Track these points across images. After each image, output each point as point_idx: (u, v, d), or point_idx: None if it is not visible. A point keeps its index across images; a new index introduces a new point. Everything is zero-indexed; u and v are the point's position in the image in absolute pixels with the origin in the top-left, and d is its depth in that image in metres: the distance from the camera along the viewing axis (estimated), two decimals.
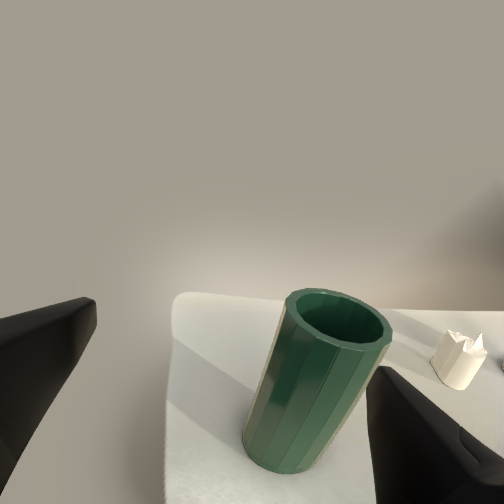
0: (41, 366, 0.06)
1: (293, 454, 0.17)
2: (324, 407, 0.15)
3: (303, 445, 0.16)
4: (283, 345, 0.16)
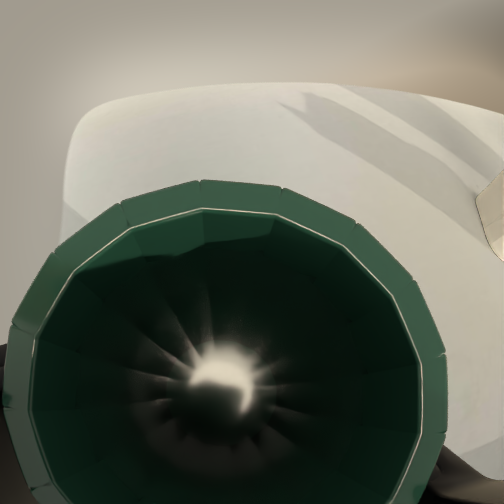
0: None
1: None
2: None
3: None
4: None
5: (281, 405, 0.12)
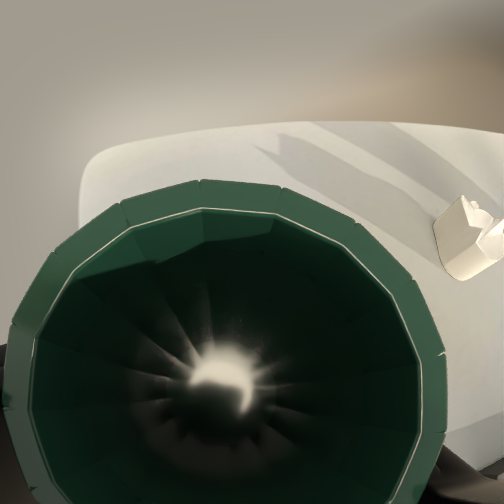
0: None
1: None
2: None
3: None
4: None
5: (281, 405, 0.12)
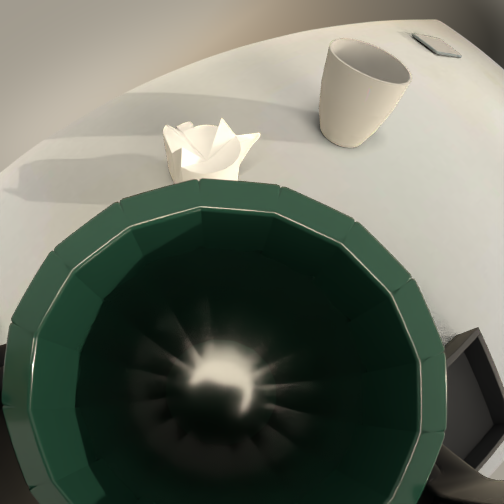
0: None
1: None
2: None
3: None
4: None
5: (281, 404, 0.12)
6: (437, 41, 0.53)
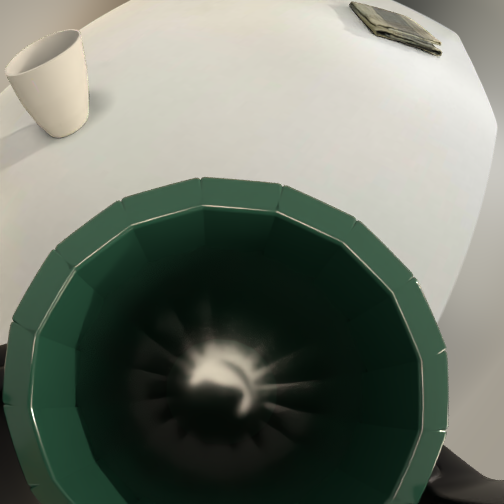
0: None
1: None
2: None
3: None
4: None
5: (281, 404, 0.12)
6: None
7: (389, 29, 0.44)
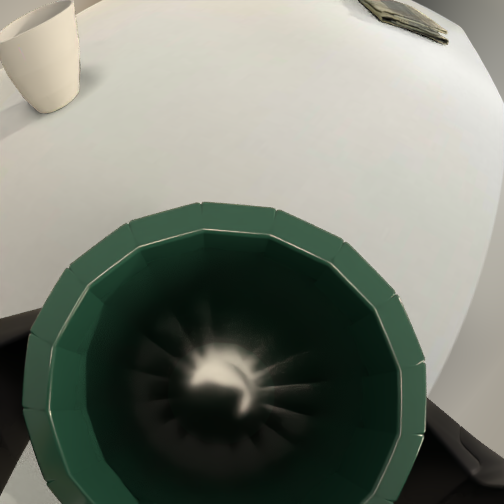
0: None
1: None
2: None
3: None
4: None
5: (279, 405, 0.13)
6: None
7: (395, 16, 0.41)
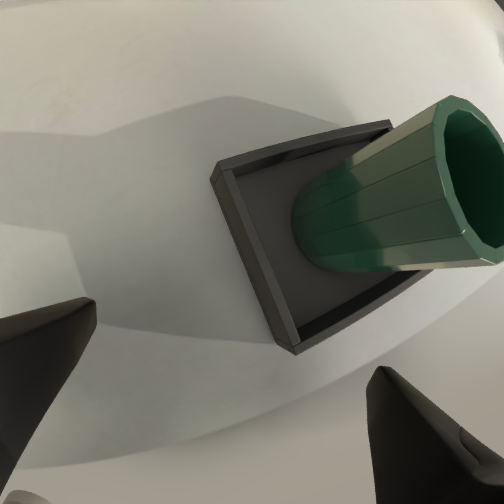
0: (41, 366, 0.06)
1: (333, 261, 0.17)
2: (394, 257, 0.12)
3: (348, 263, 0.16)
4: (399, 160, 0.09)
5: None
6: None
7: None
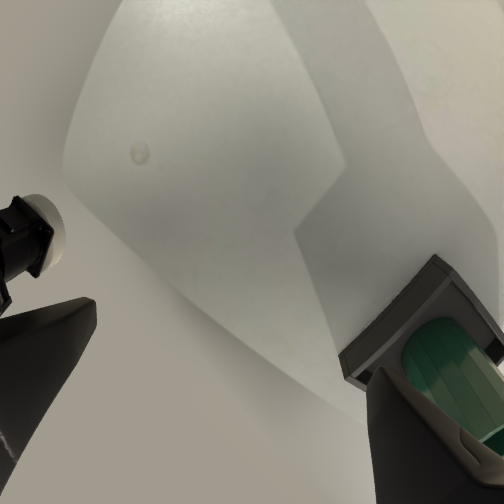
0: (41, 366, 0.06)
1: (413, 369, 0.20)
2: None
3: (417, 382, 0.19)
4: (490, 405, 0.12)
5: None
6: None
7: None
